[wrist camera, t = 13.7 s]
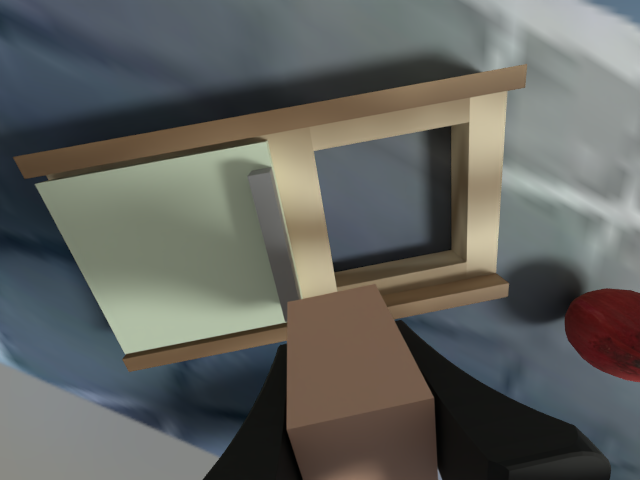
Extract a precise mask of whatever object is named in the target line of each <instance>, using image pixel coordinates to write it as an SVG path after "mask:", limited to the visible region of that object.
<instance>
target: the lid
mask: <svg viewBox="0 0 640 480" xmlns="http://www.w3.org/2000/svg"><path fill="white" fill-rule="evenodd" d="M35 186H36V187H37V189H38V191H39V193H40V195H41V197H42V199H43V201H44V203H45V204H46V206H47V208H48V210H49V212H50V214H51V216H52V218H53V219H54V221H55V223H56V225H57V227H58V229H59V231H60V233H61V234H62V236H63V238H64V240H65V242H66V244H67V246H68V248H69V250H70V251H71V253H72V255H73V257H74V259H75V261H76V263H77V265H78V266H79V268H80V270H81V272H82V274H83V276H84V278H85V280H86V281H87V283H88V285H89V287H90V289H91V291H92V293H93V295H94V296H95V298H96V300H97V302H98V304H99V306H100V308H101V310H102V312H103V313H104V315H105V317H106V319H107V321H108V323H109V325H110V327H111V328H112V330H113V332H114V334H115V336H116V338H117V340H118V342H119V343H120V345H121V347H122V349H123V351H124V353H125V354H129V353H134V352H139V351H144V350H149V349H154V348H159V347H164V346H169V345H174V344H179V343H184V342H189V341H195V340H200V339H205V338H210V337H215V336H220V335H225V334H230V333H235V332H240V331H245V330H250V329H255V328H260V327H266V326H271V325H276V324H281V323H286V322H287V302H290V301H295V300H300V299H303V297H302V292H301V288H300V283H299V279H298V274H297V270H296V265H295V261H294V256H293V252H292V247H291V243H290V238H289V234H288V229H287V225H286V220H285V216H284V212H283V207H282V203H281V198H280V194H279V189H278V185H277V180H276V176H275V171H274V167H273V162H272V158H271V153H270V149H269V144H268V140H265V141H259V142H254V143H248V144H243V145H237V146H232V147H227V148H221V149H216V150H210V151H205V152H199V153H194V154H188V155H183V156H177V157H172V158H166V159H161V160H156V161H150V162H145V163H139V164H134V165H128V166H123V167H117V168H112V169H106V170H101V171H95V172H90V173H84V174H79V175H74V176H68V177H63V178H57V179H52V180H48V181H44V182H41V183H37V184H35Z"/></svg>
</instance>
